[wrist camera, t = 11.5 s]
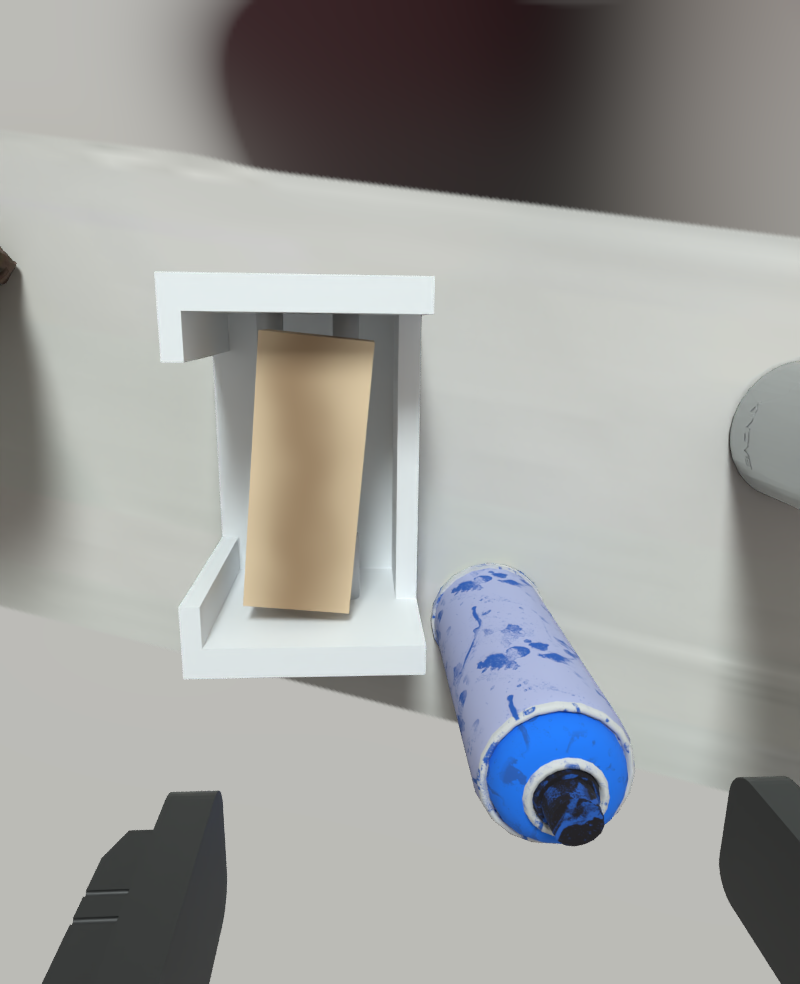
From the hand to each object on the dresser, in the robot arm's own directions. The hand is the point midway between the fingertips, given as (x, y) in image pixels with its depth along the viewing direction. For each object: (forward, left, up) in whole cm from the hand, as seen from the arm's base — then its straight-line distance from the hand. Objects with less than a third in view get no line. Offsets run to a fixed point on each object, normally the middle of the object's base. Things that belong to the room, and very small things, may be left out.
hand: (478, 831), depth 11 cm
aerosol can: (-7, +12, -34) cm, 37 cm away
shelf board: (+4, 0, -28) cm, 28 cm away
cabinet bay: (+5, 0, -34) cm, 34 cm away
